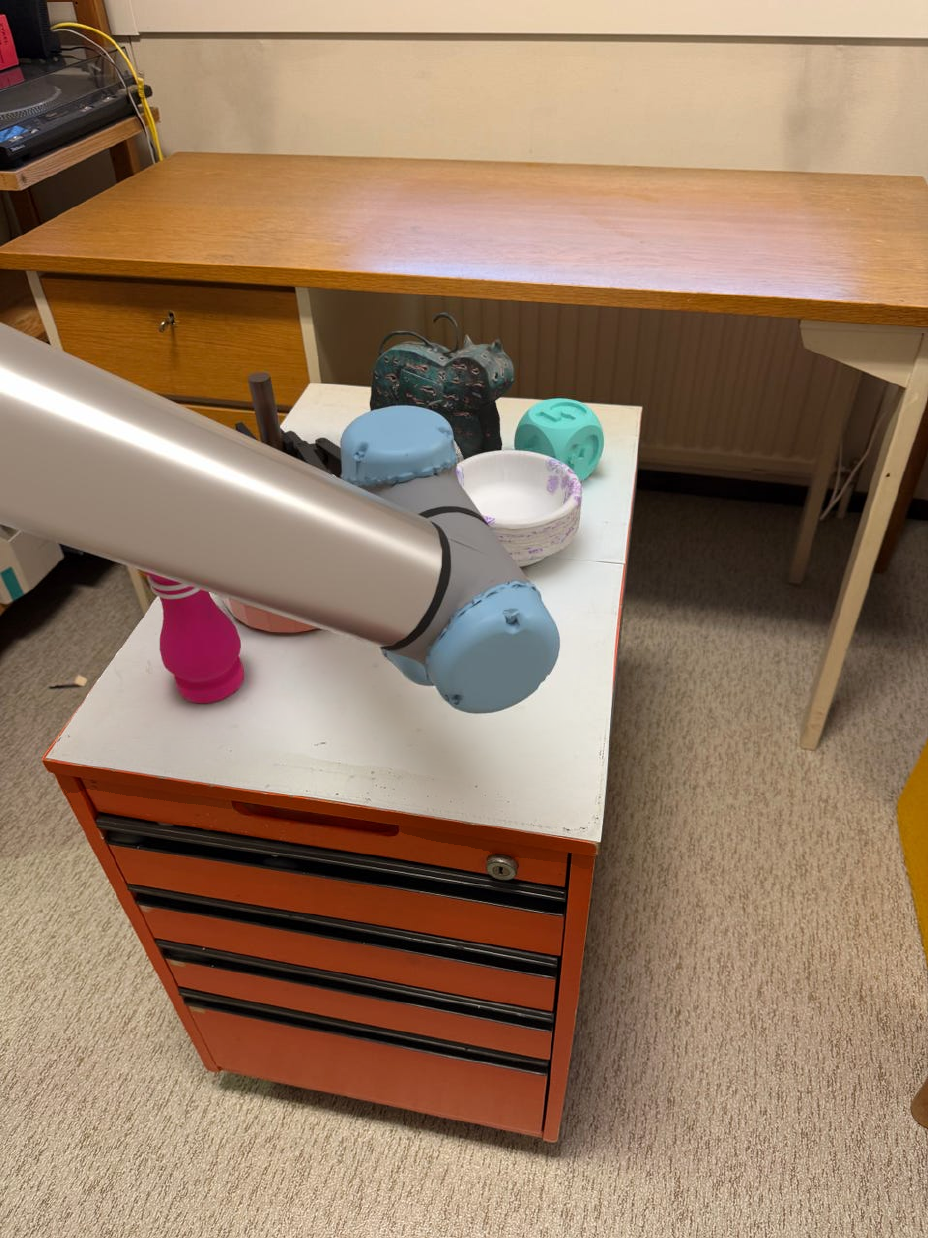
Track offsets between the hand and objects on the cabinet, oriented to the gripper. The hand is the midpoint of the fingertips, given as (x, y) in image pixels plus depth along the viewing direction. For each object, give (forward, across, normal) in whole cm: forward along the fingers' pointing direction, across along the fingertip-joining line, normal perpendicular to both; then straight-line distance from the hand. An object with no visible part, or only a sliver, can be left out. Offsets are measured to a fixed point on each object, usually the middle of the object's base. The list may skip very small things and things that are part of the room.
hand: (253, 431), depth 88 cm
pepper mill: (-14, -13, -16) cm, 25 cm away
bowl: (-6, 0, -16) cm, 17 cm away
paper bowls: (-12, +23, -17) cm, 31 cm away
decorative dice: (-2, +36, -17) cm, 40 cm away
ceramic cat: (+8, +25, -17) cm, 31 cm away
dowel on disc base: (-6, 0, -10) cm, 11 cm away
